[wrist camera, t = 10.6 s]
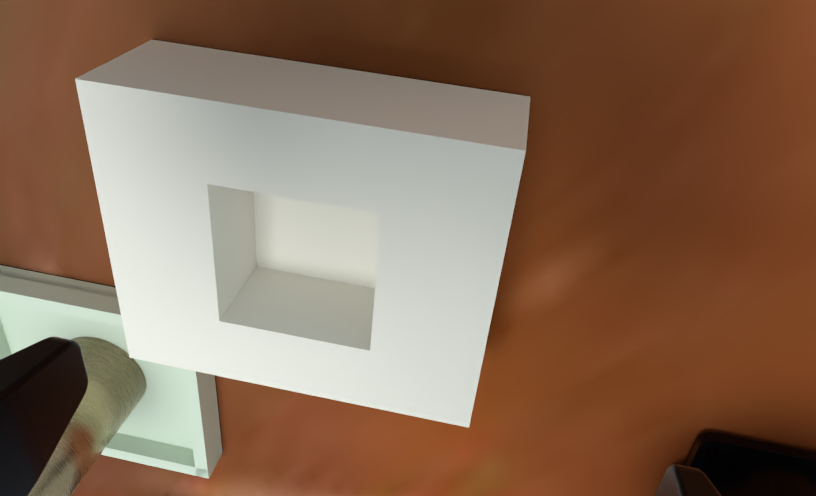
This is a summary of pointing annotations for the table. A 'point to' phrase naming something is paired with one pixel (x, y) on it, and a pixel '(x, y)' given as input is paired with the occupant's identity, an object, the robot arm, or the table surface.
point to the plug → (93, 415)
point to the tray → (165, 385)
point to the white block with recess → (305, 221)
